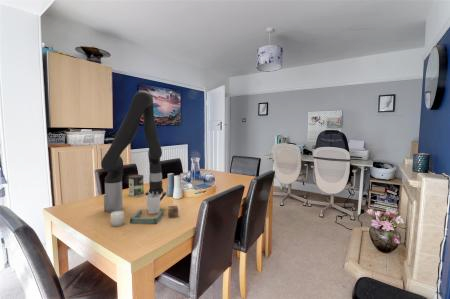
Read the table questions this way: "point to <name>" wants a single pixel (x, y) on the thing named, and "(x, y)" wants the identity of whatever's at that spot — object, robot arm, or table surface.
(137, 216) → the display frame
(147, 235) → the table surface
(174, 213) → the walnut block
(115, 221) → the white rounded block
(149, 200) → the white cup
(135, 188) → the coffee can
